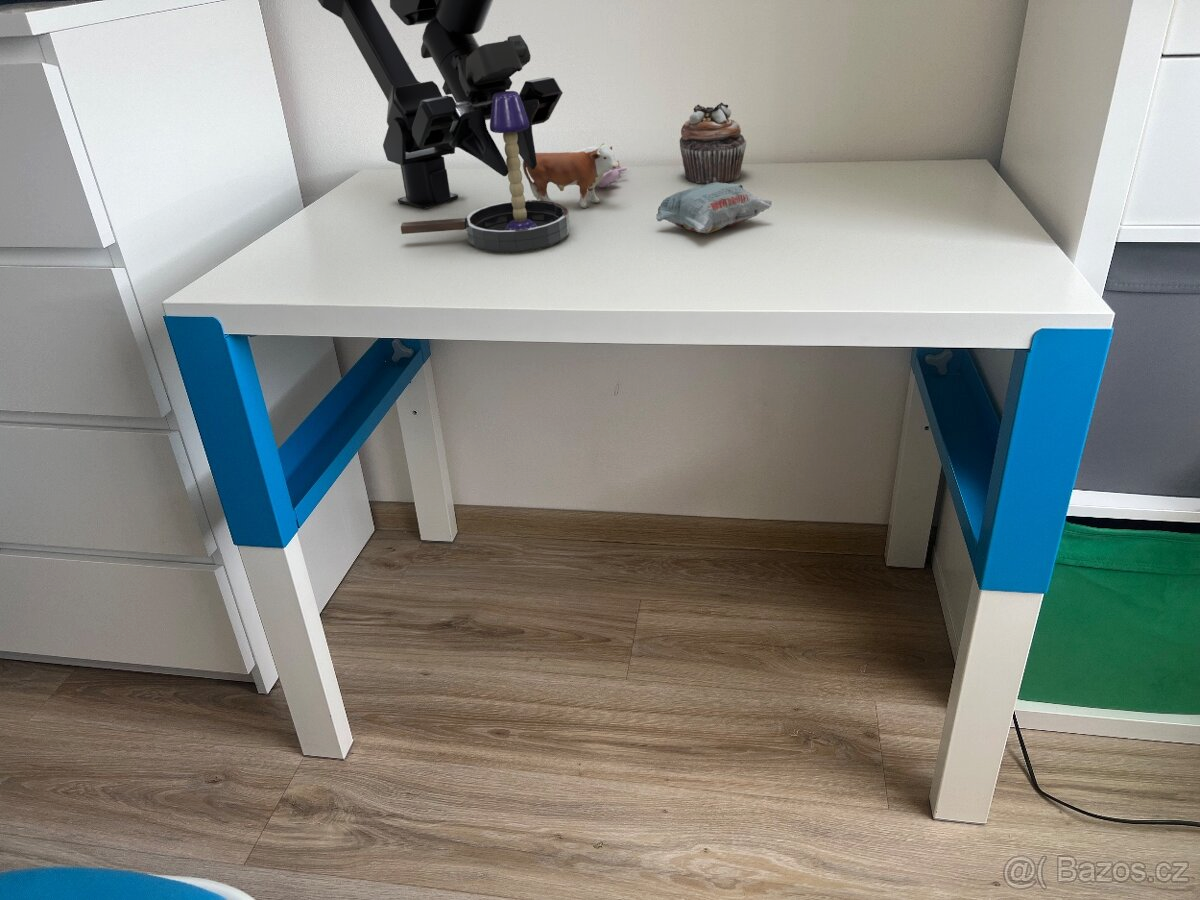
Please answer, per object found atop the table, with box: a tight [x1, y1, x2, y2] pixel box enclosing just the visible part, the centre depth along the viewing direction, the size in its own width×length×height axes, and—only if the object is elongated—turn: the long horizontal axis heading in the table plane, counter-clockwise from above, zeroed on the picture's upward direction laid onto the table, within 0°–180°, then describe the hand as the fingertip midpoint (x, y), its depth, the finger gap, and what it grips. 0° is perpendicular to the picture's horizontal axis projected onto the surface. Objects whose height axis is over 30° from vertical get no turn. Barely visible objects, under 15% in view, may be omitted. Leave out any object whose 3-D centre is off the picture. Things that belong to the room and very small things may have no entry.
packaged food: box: [655, 182, 773, 234], centre depth 108 cm, size 9×12×5 cm
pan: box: [464, 199, 571, 254], centre depth 109 cm, size 13×13×3 cm
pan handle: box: [400, 217, 466, 235], centre depth 109 cm, size 8×2×1 cm, turn 93°
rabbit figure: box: [597, 142, 627, 189], centre depth 127 cm, size 6×6×15 cm
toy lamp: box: [489, 90, 537, 230], centre depth 105 cm, size 5×5×17 cm
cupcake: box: [679, 102, 748, 185], centre depth 126 cm, size 10×10×10 cm
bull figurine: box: [522, 144, 620, 209], centre depth 118 cm, size 4×13×8 cm, turn 76°
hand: (520, 170), depth 104 cm, fingers closed on toy lamp, 4 cm apart
